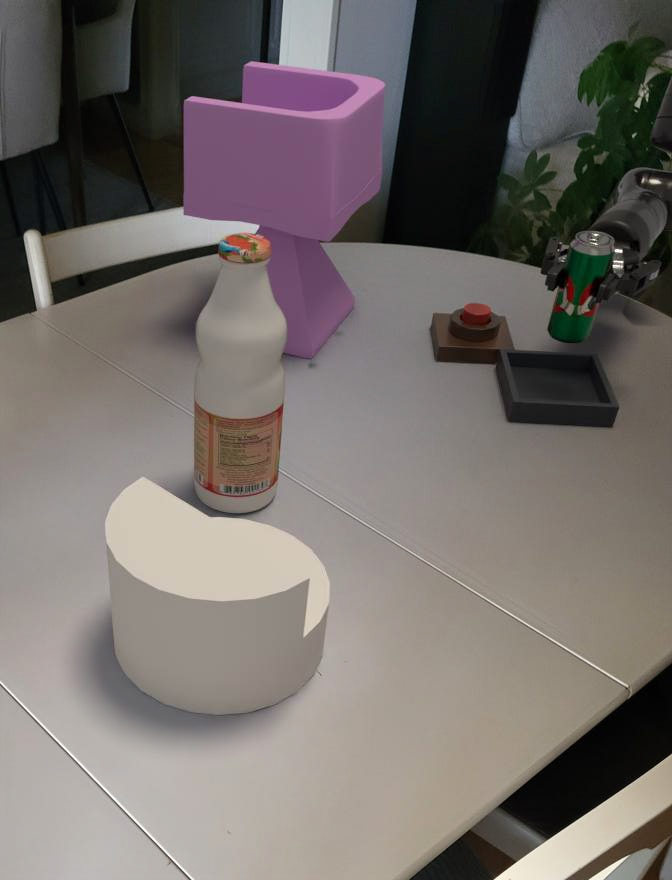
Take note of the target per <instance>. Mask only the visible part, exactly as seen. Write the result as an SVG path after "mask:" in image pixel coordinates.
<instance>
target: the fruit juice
mask: <svg viewBox="0 0 672 880" xmlns="http://www.w3.org/2000/svg"><path fill="white" fill-rule="evenodd" d="M217 255H218V260H219V262H220V264H221V265H220V269H219V272H218V276H217V279H216V282H215V283H214V284H215V285H214V287H213V289H212V293H211V295H210V297H209V298H208V301H207V302H206V304H205V305H204V306H203V309H202V310H201V311H200V313H199V315H198V318H197V320H196V322H197V325H196V324H195V340H196V345H197V350H198V352H199V361H198V363H197V365H196V369H195V374H194V385H193V485H194V491H195V494H196V496H197V498H198V499H199V501H201V503H203V504H204V505H205V506H207V507H209V508H211V509H213V510H216V511H219V512H222V513H227V514H228V513H229V514H247V513H251V512H255V511H258V510H260V509H262V508H265V507H266V506H267V505H269V504H270V503H271V502H272V501H273V499H274V498H275V495H276V493H277V489H278V485H279V472H280V471H279V470H280V458H281V457H280V456H281V443H282V431H283V430H282V429H283V417H284V416H283V415H284V405H285V404H284V403H285V393H286V379H285V378H286V377H285V376H286V375H285V370H284V366H283V364H282V356H283V354H284V353H283V351H284V348H285V345H286V341H287V323H286V319H285V316H284V314H283V312H282V311H281V309H280V307H279V306H278V305H277V303H276V302H275V299H274V296H273V293H272V290H271V286H270V282H269V278H268V273H267V264H268V262H269V260H270V255H271V245H270V241H269V240H268V239H267V238H265V237H263V236H261V235H258V234H255V233H251V232H237V233H231V234H227V235H225V236H223V237H222V238H221V239H220V240H219V243H218V249H217Z"/></svg>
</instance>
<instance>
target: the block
mask: <svg viewBox="0 0 672 880" xmlns="http://www.w3.org/2000/svg"><path fill="white" fill-rule="evenodd" d="M463 310H464V307H463V308H458V309H456V310H454V311H453V312H452V313H444V312H443V313H442V312H433V314H432V318H431V323H430V333H431V338H432V344H433V350H434V356H435V361H436V362H447V363H469V364H473V363H474V364H487V365H488V364H489V365H490V364H491V365H496V363H497V359H498V354H499V350H500V349H507V350H516V348H515V345H514V342H513V338H512V335H511V332H510V328H509V324H508V321H507V318H506V316H505V315H498V314H496V313H494V312H493V311H491V314H490V318H489V323H488V324H486V325H482V326H481V325H471V324H468V323H465V322H463V321H462V315H463Z"/></svg>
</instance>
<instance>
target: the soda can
mask: <svg viewBox="0 0 672 880" xmlns="http://www.w3.org/2000/svg"><path fill="white" fill-rule="evenodd" d="M614 242H615V240H614V238H613V237H612V236H610V235H608V234H606V233H603V232H598V231H587V230H584V231H580V232H577V233H576V234H575V236H574V239H572V241H571V242H570V243H569V249H568V253H567V257H566V260H565V264H564V268H563V272H562V275H561V279H560V283H559V286H558V287H557V291H556V294H555V298H554V301H553V305H552V309H551V312H550V313H551V314H550V317H549V320H548V324H547V328H546V330H547V333H548V335H549V336H550V337H551V338H552V339H553V340H556V341H557V342H561V343H564V344H568V345H569V344H580V343H582V342H584V341H586V340H587V339H588V338H589V337H590V336H591V332H592V329H593V325H594V323H595V319H596V316H597V313H598V310H599V306H600V303H596V302H595V300H596V296H597V293H598V290H599V287H600V285H601V283H602V282H603V281H604V280H605V279H606V277H607V276H608V274H609V270H610V267H611V264H612V260H613V257H614V254H615V247H614Z"/></svg>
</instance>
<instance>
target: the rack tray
mask: <svg viewBox="0 0 672 880" xmlns="http://www.w3.org/2000/svg"><path fill="white" fill-rule="evenodd" d="M494 368H495V373H496V376H497V380H498V385H499V388H500V392H501V396H502V399H503V404H504V409H505V412H506V415H507V420H508V422H509V423H510V422H511V423H529V424H530V423H531V424H548V425H549V424H550V425H551V424H552V425H570V426H584V427H585V426H588V427H605V428H607V427H608V428H613V427H614V425H615V424H614V423H615V422H616V419H617V416H618V413H619V410H620V405H619V402H618V400H617V397H616V395H615V392H614V390H613V387H612V385H611V383H610V381H609V378H608V376H607V374H606V371H605V368H604V366H603V364H602V361H601V359H600V356H599V354H598V353H591V352H590V353H589V352H569V351H548V350H528V349H527V350H525V349H515V350H507V349H500V350H499V354H498V359H497V363H496V364H495V367H494Z"/></svg>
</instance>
